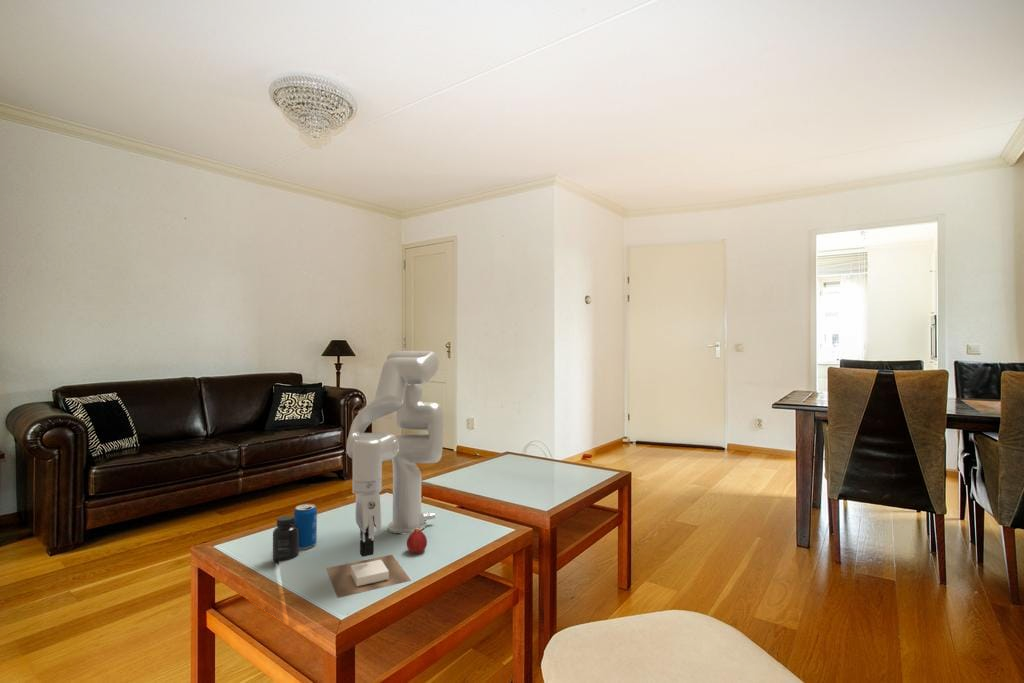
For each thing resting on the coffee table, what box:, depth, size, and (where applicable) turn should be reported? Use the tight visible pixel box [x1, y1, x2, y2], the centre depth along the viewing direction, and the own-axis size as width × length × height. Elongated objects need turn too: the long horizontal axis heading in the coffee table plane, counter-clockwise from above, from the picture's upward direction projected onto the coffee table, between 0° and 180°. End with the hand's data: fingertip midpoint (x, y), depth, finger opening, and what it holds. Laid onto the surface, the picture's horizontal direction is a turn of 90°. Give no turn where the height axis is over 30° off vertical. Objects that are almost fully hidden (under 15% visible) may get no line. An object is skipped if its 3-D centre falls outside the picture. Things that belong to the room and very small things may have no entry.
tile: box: [350, 560, 389, 586], centre depth 126 cm, size 8×2×8 cm
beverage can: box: [293, 503, 318, 550], centre depth 150 cm, size 6×6×12 cm
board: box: [325, 554, 412, 599], centre depth 128 cm, size 18×18×1 cm
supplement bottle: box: [272, 515, 300, 565], centre depth 140 cm, size 7×7×12 cm
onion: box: [406, 528, 428, 554], centre depth 143 cm, size 6×6×8 cm
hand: (366, 554), depth 129 cm, fingers closed
